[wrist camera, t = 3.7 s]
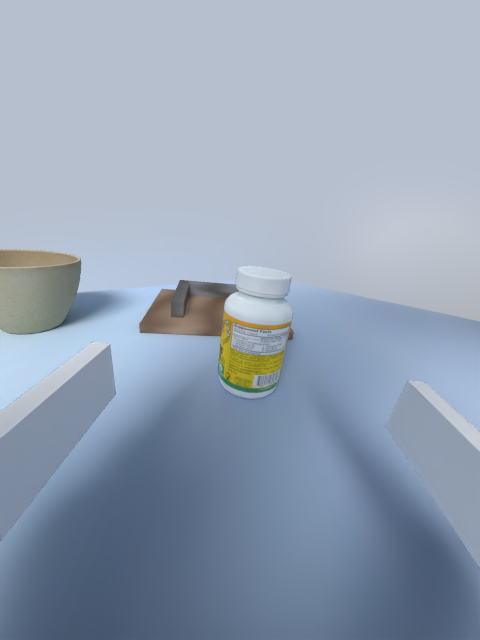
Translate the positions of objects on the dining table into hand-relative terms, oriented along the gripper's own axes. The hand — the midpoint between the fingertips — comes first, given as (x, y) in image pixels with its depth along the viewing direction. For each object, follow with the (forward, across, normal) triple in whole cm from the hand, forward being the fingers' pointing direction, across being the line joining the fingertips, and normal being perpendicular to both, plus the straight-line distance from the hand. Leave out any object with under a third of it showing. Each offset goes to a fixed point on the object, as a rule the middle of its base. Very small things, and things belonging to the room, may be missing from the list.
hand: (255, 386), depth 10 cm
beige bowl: (+14, -23, -6) cm, 27 cm away
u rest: (+23, -4, -6) cm, 24 cm away
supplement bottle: (+8, 0, -6) cm, 10 cm away
